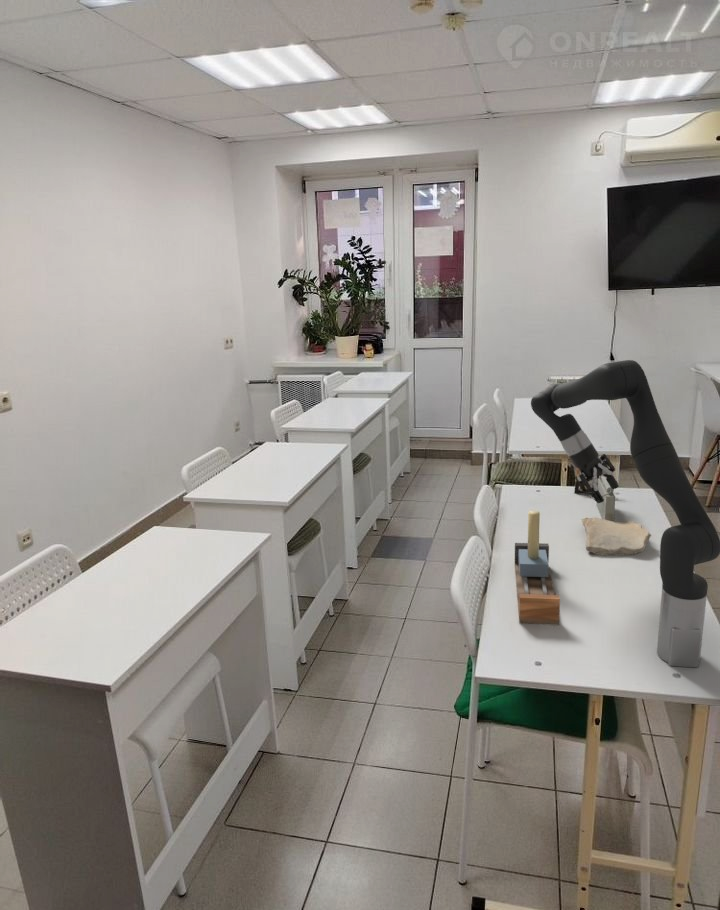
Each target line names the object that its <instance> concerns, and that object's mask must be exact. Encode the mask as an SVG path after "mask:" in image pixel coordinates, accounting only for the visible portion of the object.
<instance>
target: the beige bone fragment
mask: <svg viewBox="0 0 720 910" xmlns="http://www.w3.org/2000/svg"><path fill="white" fill-rule="evenodd" d="M580 520H581V523H582V526H583V527H584V529H585V533H586V541H585V550H586V552H589V553H593V554H597V555H601V554H603V555H602V556H610V555H609V554H612V555H623V554H624V555H626V554H627V555H626V556H632V555H636V554H638V553H641V552H643V551H645V547H646V545H647V544H648V542H649V541H650V538H651V536H652V534H651V533H650V532H649V531H648V529H647V528H644V527H643V525H642V524H641V523H637V522H636V521H632V520H628V521H623V522H622V521H620V522H619V521H614V522H613V521H609V520H605V519H602V518H601V517H600V518H599V517H596V516H594V517H593V516H592V517H585V518H582V519H580ZM605 554H606V555H605Z"/></svg>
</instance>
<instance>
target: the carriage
mask: <svg viewBox="0 0 720 910" xmlns="http://www.w3.org/2000/svg"><path fill="white" fill-rule="evenodd" d="M540 515H541V514H540V511H537V510H530V511H528V513H527V543H528V549H519V555H518V562H519V572H520V576H526V577H548V568H549V569H550V565H549V562H548V559H547V554H546V550H539V543H540Z"/></svg>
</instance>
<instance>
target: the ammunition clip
mask: <svg viewBox="0 0 720 910" xmlns="http://www.w3.org/2000/svg"><path fill="white" fill-rule="evenodd" d="M575 468H576V467H575ZM579 474H580V469H579V468H576V469H575V476H576V475H579ZM575 476H574V477H575ZM598 479H600V478H598ZM598 479H597V483H596V484H597V487H598ZM589 481H592V480H589ZM585 488H586V486H585ZM591 488H592V485H591ZM586 489H587V488H586ZM573 494H576V495H577V494H578V495H585V494H584V493H583V491H582V489H581V488H580V486H579V484H578V483H577V481H576V479H575V478H574V493H573ZM586 495H591V494H590V493H587V494H586ZM591 496H592V495H591Z"/></svg>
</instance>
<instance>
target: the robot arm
mask: <svg viewBox="0 0 720 910" xmlns="http://www.w3.org/2000/svg"><path fill="white" fill-rule="evenodd" d="M622 399H626V400H627V402H628V404H629V407H630V410H631V412H632V415H633V417H632V418H633V427H632V431H631V438H630V447H629V448H630V449H629V451H630V454H631V457H632V460H633V463H634V465H635V467H636V470H637V471H638V474H639V476H640V477H641V479H642V480H643V482H644V483H645V484H646V485H647V486H648V487H650V488H651V489H652V490H653V491H654V492H655V493H656V494H658V495H659V496H660V497H661V498H663V499H664V500H665V502H667V503H668V504H669V506H670V507H671V508H672V511H674V513H675V515H676V517H677V519H678V521H679V523H680V524H678V525H674V526H670V527H668V528H666V529H665V530H664V531H663V533H662V535H661V537H660V544H659V545H660V546H659V547H660V548H659V552H660V553H659V558H660V559H659V574H660V578H661V581H662V586H661V598H660V607H659V608H660V609H659V621H658V633H657V642H656V644H657V645H656V653H657V655H658V657H659V658H660V659H661V660H662V661H664V662H666V663H667V664H668V665H669V666H671V667H685V668H687V667H688V668H698V667H699V663H700V661H701V655H702V647H703V645H702V644H703V634H704V624H705V618H706V617H705V614H706V607H707V596H708V587H709V586H708V581H707V580H706V579H705V578H704V577H703V576H701V575H699V574H698V573H696V572H694V571H695V566H696V565H699V564H703V563H708V562H711V561H713V560H716V559H717V558H718V557H719V556H720V536H719V534H718V532H717V529H716V527H715V526H714V524H713V522H712V520H711V519H710V517H709V515H708V514H707V512H706V510H705V509H704V507H703V505H702V503H701V501H700V500H699V498H698V497H697V495H696V492H695V490H694V489H693V486H692V484H691V482H690V480H689V478H688V477H687V475H686V472H685V470H684V468H683V465H682V462H681V461H680V458H679V456H678V453H677V451H676V448H675V447H674V444H673V442H672V440H671V439H670V436H669V435H668V431H667V430H666V427H665V426H664V422H663V420H662V417H661V416H660V414H659V411H658V408H657V406H656V402H655V400H654V397H653V394H652V390H651V386H650V384H649V382H648V378H647V375H646V373H645V371H644V369H643V367H642V366H641V365H640V363H638V361H635V360H633V359H628V360H619V361H613V362H606V363H604V364H601V365H600V366H597V367H596V368H594V369H593V370H591V371H590V372H588V373H587V374H586V375H584V376H582V377H580V378H576V379H572V380H569V381H566V382H563V383H553V384H551V385H549V386H547V387H546V388H545V389H542V390H541V391H540V392H538V393H536V394H535V395H534V396H533V397H532V398H531V400H530V407H531V410H532V411H533V413H534V414H535V415H536V416H537V417H538V418H539V419H540V420H542V421H543V422H544V423H545V424H546V426H548V427H549V428H550V429H551V430H552V431H553V433H554V434H555V436H556V437H557V439H558V441H559V442H560V445H561V446H562V448H563V450H564V451H565V453H566V455H567V456H568V458H569V459H570V461H571V463H572V465H573V466H574V467H575V468H579V475H576V474H575V475H576V476H574V480H575V479H576V481H577V483H578V484H579V489H580V488H581V489H582V491H583V493H584V494H583V495H588V494H587V493H590V494H591V496H592V498H593V500H594V501H595V502H596V504H597V503H601V502H603V501H604V499H603V497H602V496H601V494H600V492H599V491H598V490H597V486H596V483H597V479H598V478H599V476H601V475H602V476H604V477H605V478H606V480H607V482H608V483H609V485H610V486H611V488H612V489H614V490H616V489H618V488H619V487H620V486H619V483H618V481H617V479H616V478H615V476H614V472H615V471H616V468H615V465H613V463H612V462H611V461H610V459H609V458H608V456H607V455H606V453H603V454H601V455H600V454H599V453H598V451H597V449H596V448H595V446H594V445H593V443H592V442H591V440H590V438H589V437H588V435H587V434H586V433H585V431H584V430H583V429H582V427H581V425H580V424H579V423H578V421H577V419H576V418H575V417H574V415H573V414H572V413H566V414H564V415H561V416H559V415H557V414H556V413H555V412H556V411H558V410H559V409H563V410H565V409H570V408H573V407H577V406H581V405H583V404H585V403H586V402H587V401H596V400H597V401H616V400H622ZM589 480H592V481H589ZM591 485H592V488H591ZM585 486H586V488H587V489H586V488H585Z"/></svg>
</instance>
